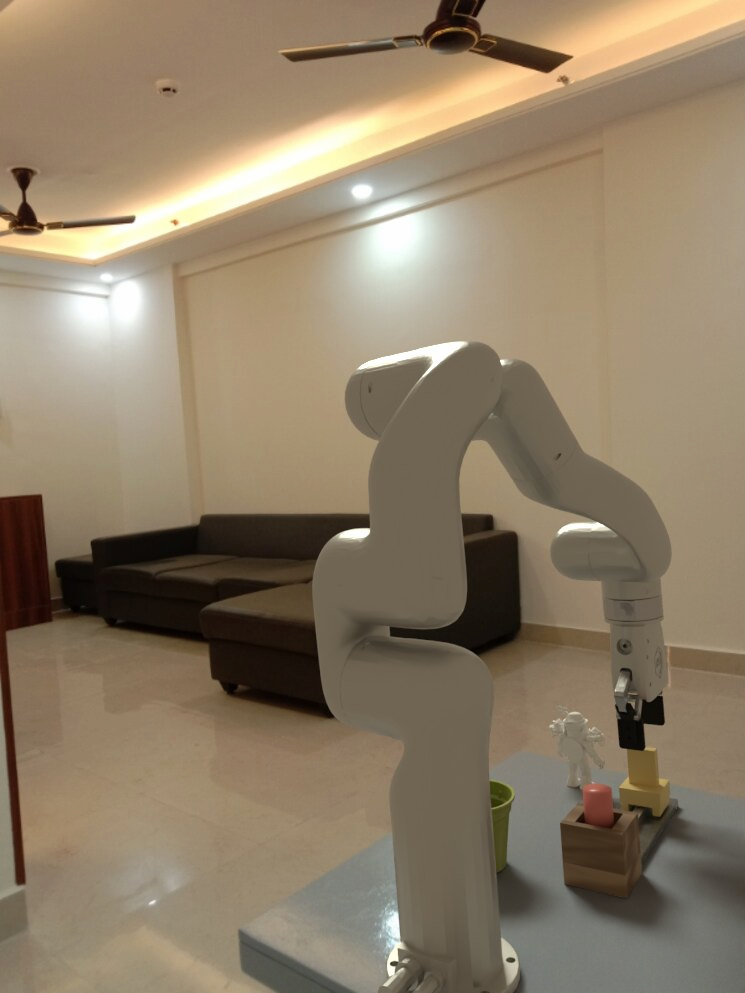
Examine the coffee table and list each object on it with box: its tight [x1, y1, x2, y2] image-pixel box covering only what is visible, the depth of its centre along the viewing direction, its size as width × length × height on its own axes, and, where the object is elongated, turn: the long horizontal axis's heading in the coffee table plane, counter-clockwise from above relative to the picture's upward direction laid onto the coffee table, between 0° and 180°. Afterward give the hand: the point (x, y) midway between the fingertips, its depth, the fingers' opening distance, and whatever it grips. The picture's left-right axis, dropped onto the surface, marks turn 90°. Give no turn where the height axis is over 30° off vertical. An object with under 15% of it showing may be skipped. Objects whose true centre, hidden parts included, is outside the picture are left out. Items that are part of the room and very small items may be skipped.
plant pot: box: [489, 779, 516, 874], centre depth 95 cm, size 9×9×9 cm
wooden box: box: [559, 802, 643, 899], centre depth 90 cm, size 6×7×7 cm
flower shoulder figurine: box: [548, 703, 606, 791], centre depth 116 cm, size 9×4×12 cm, turn 39°
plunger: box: [582, 783, 614, 829], centre depth 90 cm, size 3×3×5 cm
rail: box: [618, 797, 679, 867], centre depth 101 cm, size 19×6×4 cm, turn 146°
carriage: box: [618, 746, 671, 817], centre depth 105 cm, size 5×5×8 cm
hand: (643, 735), depth 105 cm, fingers open, 9 cm apart
